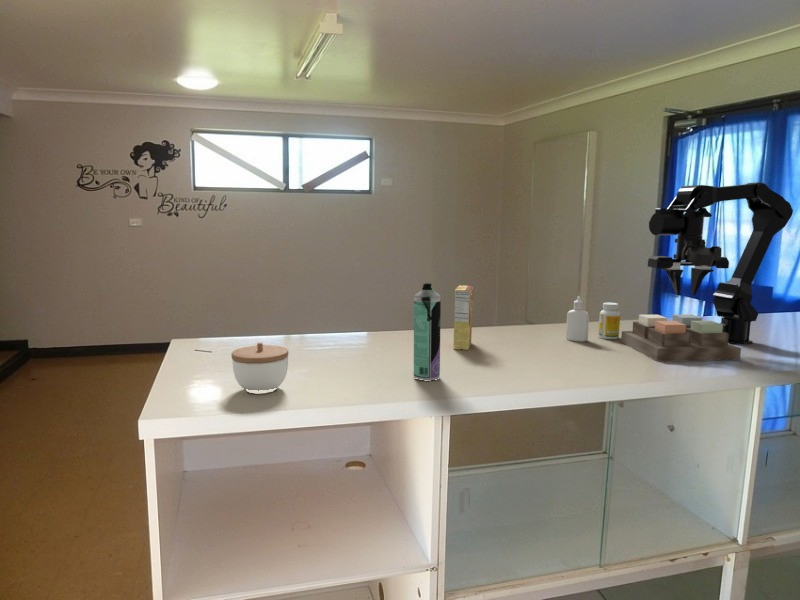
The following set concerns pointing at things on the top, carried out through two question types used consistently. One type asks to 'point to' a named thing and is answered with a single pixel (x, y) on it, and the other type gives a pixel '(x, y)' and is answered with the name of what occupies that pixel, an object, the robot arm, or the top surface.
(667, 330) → the cap terracotta
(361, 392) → the top surface
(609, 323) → the supplement bottle
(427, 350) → the spray can
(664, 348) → the stepped wooden stand
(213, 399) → the top surface
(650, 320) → the cap cream
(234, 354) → the lidded jar
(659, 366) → the top surface
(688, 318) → the cap slate
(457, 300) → the candy box
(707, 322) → the cap sage
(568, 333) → the eye dropper bottle
